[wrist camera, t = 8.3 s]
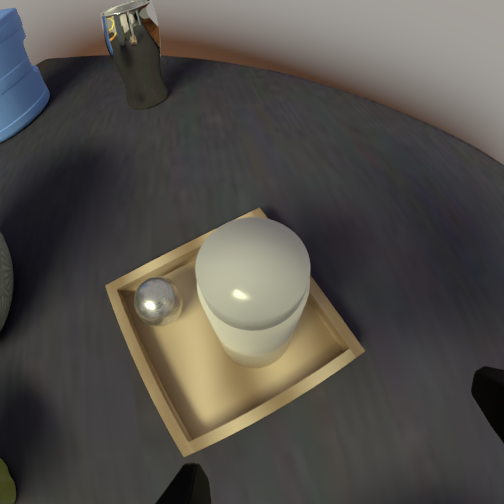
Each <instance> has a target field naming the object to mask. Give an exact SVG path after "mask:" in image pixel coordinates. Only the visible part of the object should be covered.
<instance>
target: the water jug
mask: <svg viewBox="0 0 504 504" xmlns="http://www.w3.org/2000/svg"><path fill="white" fill-rule="evenodd" d="M25 37H26V36H25V33H24V30H23V28H22V22H21V19H20V17H19V15H18V13H17V10H16V9H15V8H10V9H3V10H0V143H1V142H3V141H5V140H7V139H9V138H11V137H12V136H14V135H15V134H17V133H18V132H20V131H21V130H22V129H24V128H25V127H26V126H27V125H28V124H30V123H31V122H32V121H33V120H34V119H35V118H36V117H37V116H38V115H39V114H40V113H41V111H42V110H43V109H44V107H45V106H46V104H47V103H48V100H49V96H50V93H49V90H48V88H47V86H46V84H45V83H44V81H43V78H42V76H41V74H40V71H39V69H38V67H37V66H31V63H30V62H29V58H28V56H27V53H26V51H25V48H24V45H23V40H24V39H25Z"/></svg>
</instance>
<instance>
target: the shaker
mask: <svg viewBox="0 0 504 504" xmlns="http://www.w3.org/2000/svg"><path fill="white" fill-rule="evenodd" d="M195 272H196V279H197V291H198V296H199V300H200V302H201V304H202V307H203V309H204V311H205V313H206V315H207V317H208V319H209V321H210V323H211V325H212V327H213V329H214V331H215V333H216V335H217V337H218V339H219V341H220V343H221V345H222V347H223V349H224V351H225V353H226V354H227V355H228V357H229V358H230V359H231V360H232V361H234V362H235V363H237V364H239V365H241V366H243V367H247V368H263V367H267V366H269V365H271V364H273V363H275V362H276V361H278V360H279V359H280V358H281V357H282V356H283V354H284V353H285V351H286V349H287V347H288V345H289V343H290V340H291V338H292V335H293V333H294V331H295V328H296V326H297V323H298V321H299V319H300V316H301V314H302V311H303V309H304V306H305V304H306V301H307V298H308V295H309V289H310V259H309V255H308V252H307V250H306V247H305V245H304V244H303V242H302V241H301V239H300V238H299V237H298V236H297V235H296V234H295V233H294V232H293V231H292V230H291V229H289V228H288V227H286V226H285V225H283V224H281V223H279V222H276V221H274V220H270V219H266V218H259V217H247V218H241V219H237V220H233V221H230V222H228V223H226V224H224V225H222V226H220V227H219V228H217V229H216V230H215V231H213V232H212V233H211V234H210V235H209V236H208V237H207V239H206V240H205V241H204V243H203V244H202V246H201V248H200V250H199V252H198V255H197V259H196V266H195Z"/></svg>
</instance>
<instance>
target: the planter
mask: <svg viewBox="0 0 504 504" xmlns="http://www.w3.org/2000/svg"><path fill="white" fill-rule="evenodd" d="M12 294H13V266H12V260H11V256H10V253H9V249H8V247H7V244H6V242H5V240H4V237H3V235H2V234H1V232H0V331H1V329H2V328H3V326H4V323H5V321H6V318H7V316H8V312H9V309H10V305H11V300H12Z"/></svg>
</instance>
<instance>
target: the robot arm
mask: <svg viewBox="0 0 504 504" xmlns="http://www.w3.org/2000/svg"><path fill="white" fill-rule="evenodd" d="M471 392H472V395H473V397H474V399H475V401H476V402H477V404H478V405H479V407H480V409H481V410H482V412H483V414H484V415H485V417H486V419H487V420H488V422H489V423H490V425H491V427H492V428H493V429H494V431H495V432H496V433H497V435H498V436H499V437H500V439H501V440H502V441H503V443H504V370H501V369H497V368H492V367H487V366H484V367H482V368H480V369H479V370H477V371H476V372H475V374H474V378H473V383H472V388H471ZM156 504H211V497H210V487H209V481H208V478H207V476H206V474H205V473H204V471H203V469H202V468H201V466H200V464H198V463H187V464H184V465H183V466H182V468H181V469H180V471H179V472H178V473H177V475H176V476H175V478H174V479H173V480H172V482H171V483H170V485H169V486H168V487H167V489H166V490H165V491H164V493H163V494H162V496H161V497H160V498H159V500H158V501H157V502H156Z"/></svg>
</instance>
